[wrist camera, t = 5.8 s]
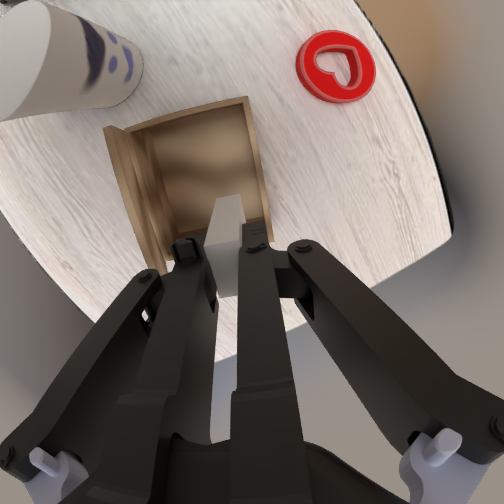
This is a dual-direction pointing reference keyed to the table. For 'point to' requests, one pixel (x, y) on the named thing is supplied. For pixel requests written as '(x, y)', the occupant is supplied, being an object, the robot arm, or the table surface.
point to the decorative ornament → (326, 82)
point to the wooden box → (198, 168)
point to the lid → (133, 198)
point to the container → (61, 63)
